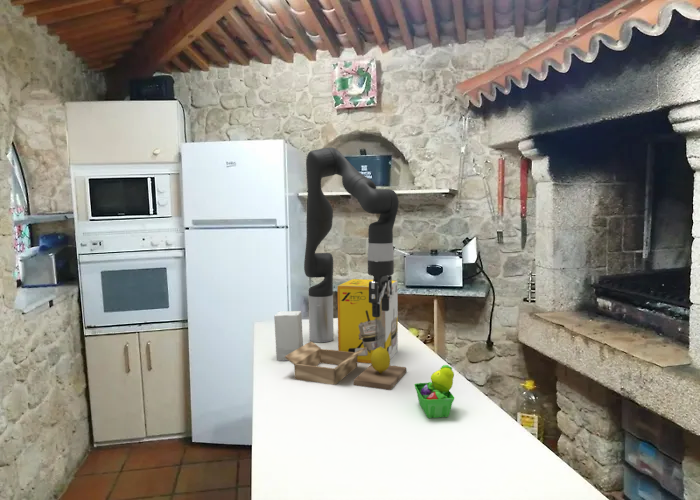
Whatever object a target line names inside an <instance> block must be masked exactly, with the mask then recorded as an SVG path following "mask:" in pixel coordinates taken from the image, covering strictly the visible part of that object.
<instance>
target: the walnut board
mask: <svg viewBox="0 0 700 500" xmlns="http://www.w3.org/2000/svg"><path fill="white" fill-rule="evenodd" d="M406 373H407V367H406V366H400V365H399V366H398V365H389V367H388V368H387V370H385V371H383V372H382V373H379V372H378V371H376V370H375V369H374V368H373V366H372V364H371V363H370V365H368V366H367V367H366V368H365V369H364V370H363V371H362V372H360V373H359V375H357V376H356V377H355V378H354V379H353V386H358V387H365V388H366V387H367V388H373V389H381V390H388V391H391V390H393V388H394V387H395V386H396V385H397V383H398V382H399V381H400V380H401V379H402V378H403V377H404V375H405V374H406Z"/></svg>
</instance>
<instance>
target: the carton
mask: <svg viewBox="0 0 700 500" xmlns="http://www.w3.org/2000/svg"><path fill="white" fill-rule="evenodd" d="M365 349H367V347H365V348H363V349H361V350H359V351H357V352H346V351H338V350H336V349H335V350H334V349H327V348H326V349H325V348H321V347H320V346H319V345H317V344H316V343H315V342H313V341H309V342H308V343H305V344H303V346H302V347H300V348H298V349H297V350H295V351H293V352H291V353H289V354H288V355H286V356H285V358H286V359H287V360H289V361H288V362H290V363H291V364H293V366H294V367H293V368H294V369H293V371H294V380H298V381H305V382H310V383H311V382H313V383H320V384H325V385H326V384H327V385H332V386H333V385H335V386H336V385H337V384H339V382H342V380H343V379H344V378H345V377H347V376H348V375H349V374H351V373H352V372H353V371H354V370H355V369H356V368H357V367H358V362H357V356H358V355H359V354H360V353H361V352H363V351H364V350H365ZM320 364H327V365H336V366H335V367H334V368H333V367H324V366H318V365H320Z"/></svg>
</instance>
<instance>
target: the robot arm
mask: <svg viewBox="0 0 700 500" xmlns="http://www.w3.org/2000/svg"><path fill="white" fill-rule="evenodd" d="M305 161H306V162H305V165H306V166H305V168H306V171H305V172H306V185H307V187H306V188H307V203H306V205H307V206H306V220H305V221H306V238H305V239H306V241H305V252H304V261H303V266H304V267H303V269H304V274H305V276H306V277H307V278H323V280H322V281H321V282H319V283H318V284H315V285H312V286H310V287H309V288H308V323H309V324H308V325H309V326H308V328H309V329H308V331H309V333H308V334H309V335H308V336H309V342H311V341H312V342H313V343H328V342H331V341H333V340H334V336H335V335H334V291H333V290H334V289H333V288H334V286H333V284H334V282H333V281H334V280H333V279H334V257H333V255H332V254H331V253H329V252H316V251H317V249H318V247H319V245H320V244H321V243H322V242H323V240H324V239H326V237H327V236H328V235H329V234H330V233H329V232H331V230H332V227H333V217H334V210H333V207H332V204H331V203H330V201H329V200H328V198H327V197H326V196H325V194H324V192H323V189H322V179H323V178H327V177H331V176H335V175H339V176H340V177H341V181H342V182H341V183H342V186H343V188H344V190H345V191H346V192H347V193H349V194H350V195H351V196H352V197H353V198H355V199H356V200H357V201H358V204H359V205H360V207H361V208H362V210H363V211H364V212H366V213H369V214H373V215H375V214H376V215H377V214H380V215H379V218H378V220H377V221H374V222H371V223H370V224H369V225H368V229H367V231H368V232H367V235H368V237H367V238H368V239H367V240H368V242H367V243H368V244H367V245H368V246H367V274H368V275H369V276H372V277H373V278H372V280H373V281H372V282H371V281H370V282H369V303H371V304H372V316H373V317H380V301H381V298H382V311H388V310H389V298H390V295H392V280H393V275H394V273H395V272H394V271H395V269H394V268H395V265H394V264H395V259H394V258H395V256H394V254H395V251H394V250H395V249H394V231H393V230H394V225H395V221H396V218H397V214H398V210H399V204H400V203H399V197H398V195H397V193H396V191H394V190H393V189H390V188H377V186H376V184H375V183H374V181H373V180H371V179H370V178H369V177H367V176H365V175H364V174H362V173H361V172H359V171H358V170H357V169H356V168H355V166H354V165H352V164H351V162H350V161H349V160H348V159H347V158H346V157H345V156H344V155H343V154H342V153H341V151H339V150H338V149H337V148H334V147H323V148H318V149H314V150H310V151H309V152H308V153H307V156H306V160H305ZM374 298H375V299H374Z"/></svg>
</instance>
